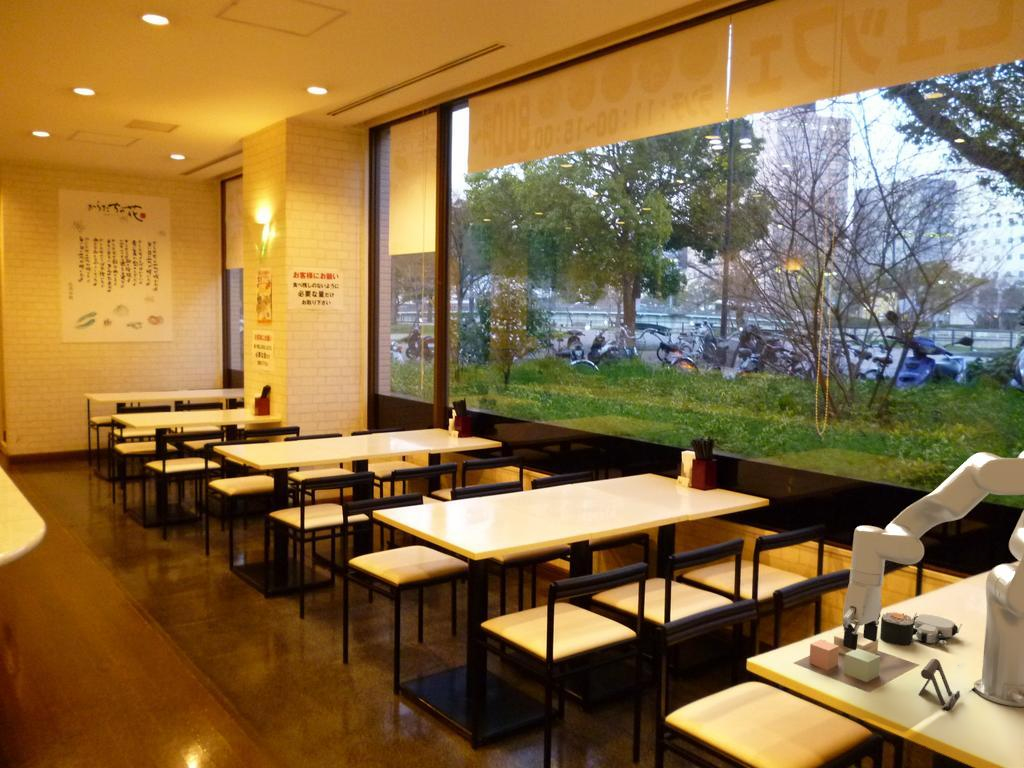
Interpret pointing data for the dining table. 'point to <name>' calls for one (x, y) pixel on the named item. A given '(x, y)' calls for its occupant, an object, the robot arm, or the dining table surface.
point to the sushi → (897, 629)
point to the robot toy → (934, 628)
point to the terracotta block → (824, 654)
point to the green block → (862, 665)
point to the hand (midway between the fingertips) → (859, 643)
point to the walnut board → (887, 672)
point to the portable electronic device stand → (929, 674)
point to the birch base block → (861, 644)
